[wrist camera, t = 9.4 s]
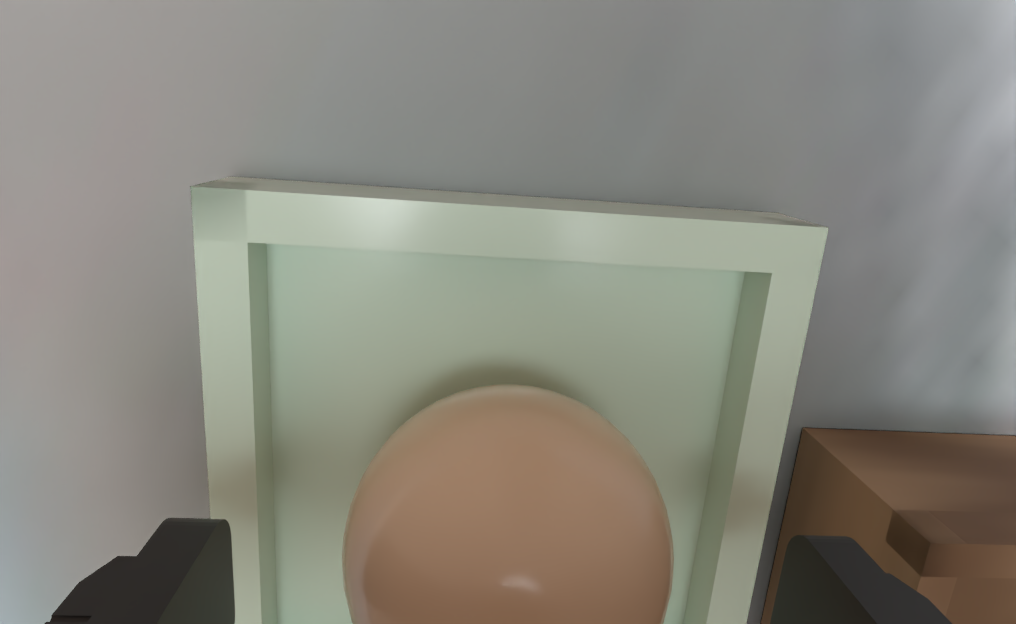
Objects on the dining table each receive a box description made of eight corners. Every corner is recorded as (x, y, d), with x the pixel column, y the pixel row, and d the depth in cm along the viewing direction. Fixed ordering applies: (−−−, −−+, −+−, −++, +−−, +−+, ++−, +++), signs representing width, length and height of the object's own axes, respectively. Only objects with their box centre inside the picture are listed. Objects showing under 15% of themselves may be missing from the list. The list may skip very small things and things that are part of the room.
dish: (778, 212, 12) (828, 227, 11) (697, 646, 15) (727, 714, 13) (231, 176, 12) (190, 186, 10) (251, 642, 14) (221, 714, 13)
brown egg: (644, 347, 12) (762, 500, 7) (612, 577, 13) (692, 830, 9) (369, 334, 12) (303, 485, 7) (366, 571, 13) (308, 835, 8)
